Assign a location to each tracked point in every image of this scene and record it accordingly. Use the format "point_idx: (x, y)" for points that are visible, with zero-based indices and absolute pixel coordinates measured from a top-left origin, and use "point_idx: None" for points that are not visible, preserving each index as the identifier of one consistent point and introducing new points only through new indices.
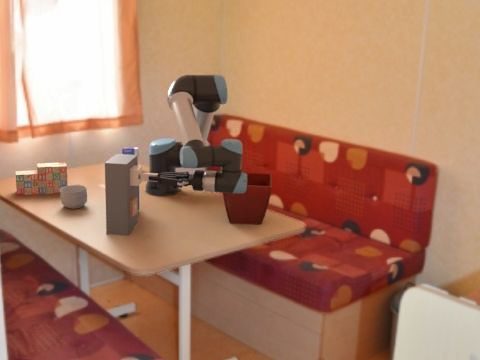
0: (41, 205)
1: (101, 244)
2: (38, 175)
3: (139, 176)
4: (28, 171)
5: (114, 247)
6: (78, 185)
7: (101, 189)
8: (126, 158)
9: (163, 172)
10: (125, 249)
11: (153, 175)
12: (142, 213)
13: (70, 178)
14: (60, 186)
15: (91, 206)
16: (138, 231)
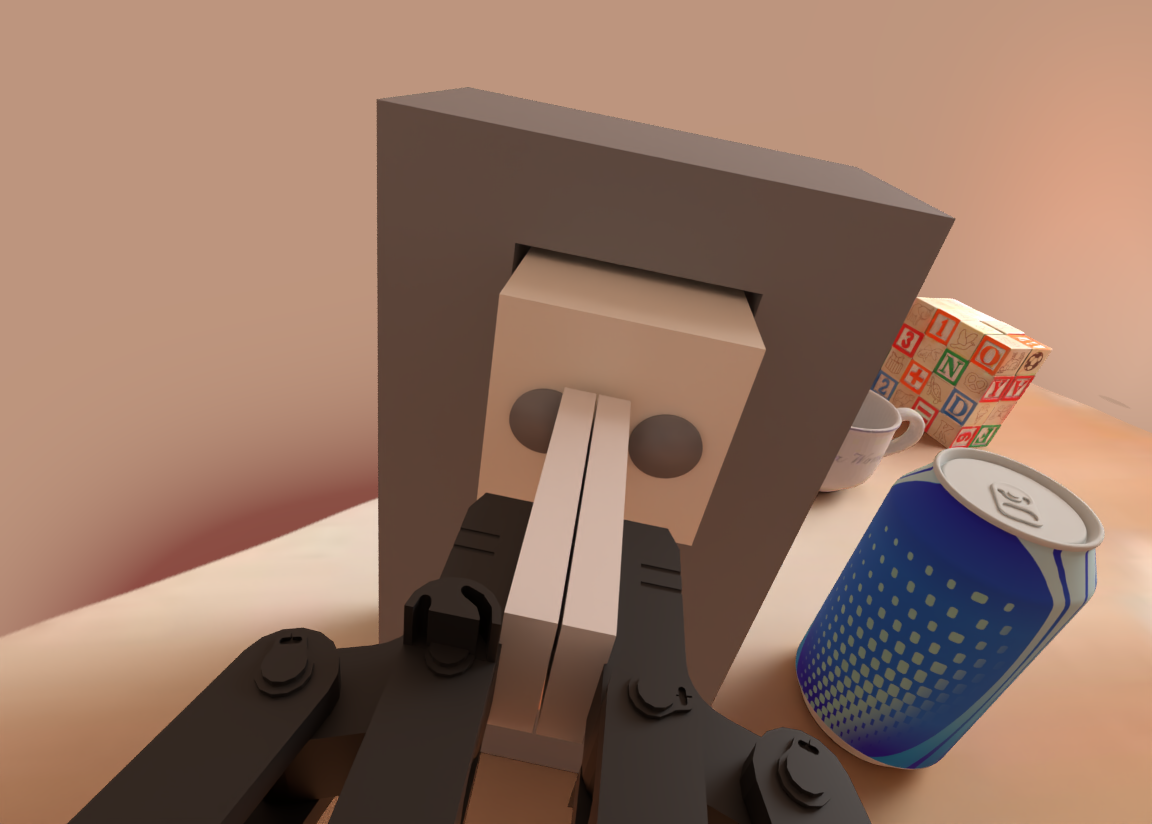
0: None
1: (251, 584)
2: (901, 328)
3: (546, 416)
4: None
5: (155, 657)
6: (893, 411)
7: (1097, 549)
8: (700, 153)
9: (784, 763)
10: (62, 736)
11: (523, 550)
12: (887, 813)
13: (1103, 453)
14: (940, 411)
15: (840, 521)
16: (467, 814)
